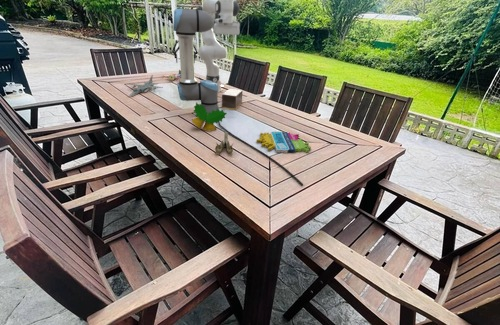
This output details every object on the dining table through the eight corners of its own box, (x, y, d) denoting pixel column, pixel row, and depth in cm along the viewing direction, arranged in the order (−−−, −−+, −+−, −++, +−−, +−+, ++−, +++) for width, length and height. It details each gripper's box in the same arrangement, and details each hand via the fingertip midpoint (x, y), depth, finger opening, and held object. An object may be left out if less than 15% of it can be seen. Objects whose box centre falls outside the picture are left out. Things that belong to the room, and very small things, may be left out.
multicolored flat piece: (313, 150, 142) (258, 149, 139) (312, 153, 143) (258, 152, 140) (301, 132, 164) (254, 130, 161) (301, 134, 165) (254, 133, 162)
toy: (194, 71, 288) (181, 75, 262) (194, 77, 291) (182, 82, 265) (171, 68, 293) (156, 72, 267) (171, 75, 296) (157, 79, 270)
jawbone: (234, 135, 144) (233, 125, 135) (233, 160, 138) (232, 151, 129) (217, 135, 144) (216, 125, 135) (216, 160, 138) (214, 150, 129)
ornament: (218, 133, 171) (224, 110, 169) (221, 134, 163) (227, 111, 161) (186, 125, 162) (192, 101, 160) (189, 126, 155) (195, 101, 153)
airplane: (123, 86, 237) (121, 75, 232) (158, 84, 251) (157, 74, 246) (127, 99, 209) (125, 86, 204) (167, 96, 222) (166, 84, 217)
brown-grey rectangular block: (229, 101, 219) (229, 88, 214) (241, 103, 217) (242, 90, 212) (221, 108, 202) (221, 94, 197) (235, 109, 200) (235, 96, 195)
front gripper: (199, 34, 207) (200, 62, 217) (167, 32, 200) (169, 61, 211) (200, 34, 200) (201, 63, 211) (167, 33, 194) (169, 63, 205)
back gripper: (238, 21, 200) (237, 41, 207) (212, 19, 192) (212, 40, 199) (241, 21, 195) (240, 41, 202) (214, 19, 187) (215, 41, 194)
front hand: (185, 62), depth 211 cm, fingers open, 13 cm apart
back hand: (226, 41), depth 200 cm, fingers open, 8 cm apart
